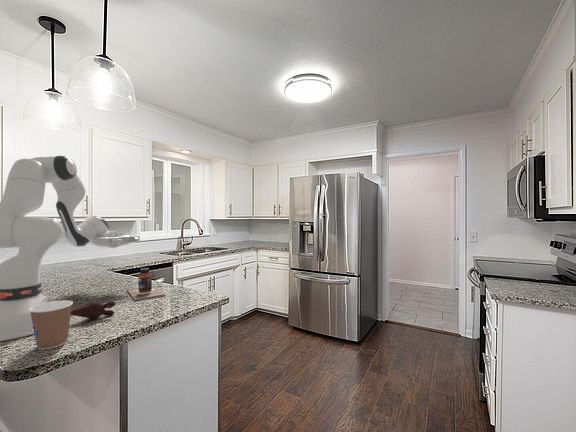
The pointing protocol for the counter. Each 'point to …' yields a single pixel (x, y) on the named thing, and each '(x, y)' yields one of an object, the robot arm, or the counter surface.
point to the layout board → (145, 293)
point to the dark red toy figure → (94, 310)
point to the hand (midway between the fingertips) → (128, 240)
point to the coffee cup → (51, 323)
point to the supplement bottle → (144, 280)
